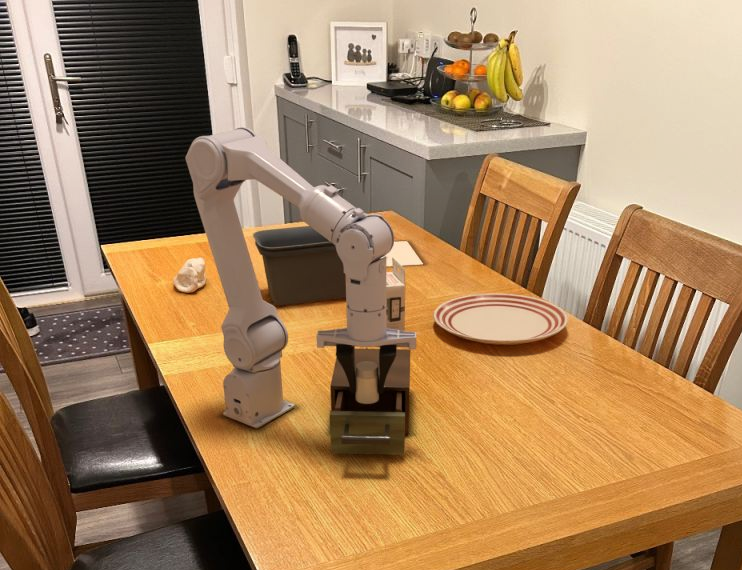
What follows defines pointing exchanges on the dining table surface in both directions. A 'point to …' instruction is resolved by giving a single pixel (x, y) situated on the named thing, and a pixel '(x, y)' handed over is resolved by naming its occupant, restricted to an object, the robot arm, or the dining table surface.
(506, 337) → the dinner plate
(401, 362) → the cabinet
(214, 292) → the dining table surface
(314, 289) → the storage bin
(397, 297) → the ink box
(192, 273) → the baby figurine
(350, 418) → the drawer
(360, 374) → the salt shaker
